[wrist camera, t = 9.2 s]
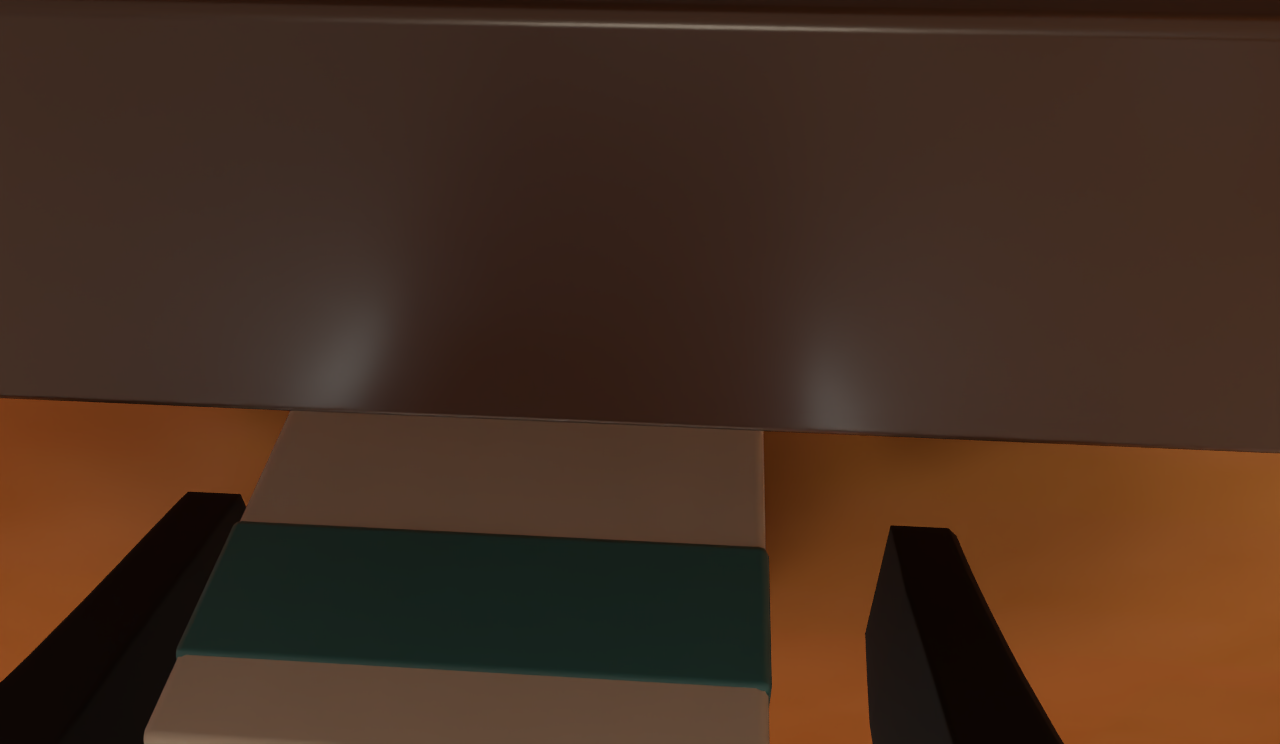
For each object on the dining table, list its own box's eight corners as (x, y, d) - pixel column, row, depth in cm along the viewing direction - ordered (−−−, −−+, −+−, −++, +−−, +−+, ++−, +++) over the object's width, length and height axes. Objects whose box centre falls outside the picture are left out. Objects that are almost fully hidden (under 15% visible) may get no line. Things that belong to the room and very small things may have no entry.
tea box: (456, 627, 15) (354, 1060, 11) (364, 234, 11) (128, 738, 7) (730, 642, 15) (725, 1090, 11) (762, 246, 10) (775, 780, 6)
